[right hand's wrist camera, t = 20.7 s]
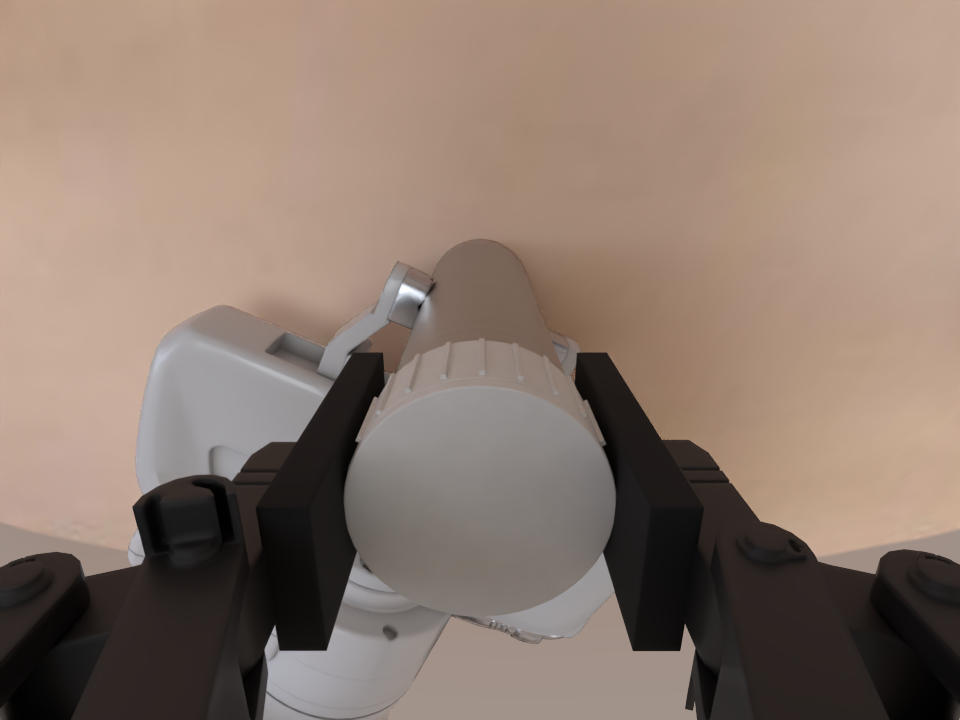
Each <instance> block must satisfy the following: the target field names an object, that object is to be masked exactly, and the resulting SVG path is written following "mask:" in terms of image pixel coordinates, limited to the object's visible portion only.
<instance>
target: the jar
mask: <svg viewBox="0 0 960 720" xmlns="http://www.w3.org/2000/svg"><path fill="white" fill-rule="evenodd" d="M432 277H434V280H433V282H432V285H431V287H430V290H429V292H428V294H427V297H426V299H425V300H424V302H423V303H422V305H421V308H420V310H419V313H418V316H417V318H416V321H415V324H414V326H413V329H412V332H411V334H410V337H409V339H408V342H407V345H406V347H405V350H404V353H403V355H402V358H401V361H400V363H399V366H398V368H397V371H396V373H397V372H399V371H400V370H401V369H402V368H403V367H404V366H405V365H407V364H408V363H410V362H411V361H412V360H414V357H415V355H417V354H420V355H423V354H424V353H426V352H428V351H431V350H433V349H436V348H439V347H441V346H444V345H445V344H446V343H447V342H451V344H453V343H457V342H464V341H473V340H479V338H484V339H485V341H496V342H503V343H508V344H513V343H517V344H518V346H519V347H522V348H524V349H527V350H529V351H531V352H534V353H536V354H538V355H539V356H541V357H543V356H544V355H545V356H546V357H548V359H549V362H550V363H552V364H553V365H554V366H556V367H557V368H558V369H560V370H561V372H562V373H563V374H564V371H563V368H562V366H561V363H560V361H559V358H558V355H557V353H556V350H555V347H554V345H553V342H552V340H551V337H550V334H549V332H548V329H547V326H546V324H545V321H544V319H543V316H542V313H541V311H540V308H539V305H538V303H537V300H536V298H535V295H534V292H533V290H532V287H531V284H530V282H529V279H528V277H527V274H526V271H525V269H524V266H523V265H522V263H521V261H520V260H519V258H518V257H517V256H516V255H515V254H514V253H513V252H512V251H511V250H510V249H508V248H507V247H505V246H503V245H502V244H499V243H497V242H494V241H490V240H483V239H478V240H469V241H466V242H463V243H460V244H458V245H456V246H455V247H453V248H451V249H450V250H449V251H448V252H447V253H446V254H445V255H444V256H443V257H442V258H441V260H440V261H439V263H438V264H437V266H436V268H435V271H434V274H433V276H432ZM564 375H565V374H564Z"/></svg>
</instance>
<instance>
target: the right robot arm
mask: <svg viewBox="0 0 960 720" xmlns="http://www.w3.org/2000/svg"><path fill="white" fill-rule="evenodd" d="M575 386H576V389H577V390H578V392H579V394H580V396H581V398H582V400H583V401H585V400H587V401H588V403H589V405H590V408H591V410H592V412H593V415H594V417H595V419H596V422H597V424H598V426H599V428H600V431H601V433H602V435H603V438H604V440H605V442H606V445H604V446H602V447H603V449H604V452H605V454H606V456H607V459H608V461H609V464H610V467H611V470H612V472H613V476H614V481H615V486H616V506H615V515H614V524H613V528H612V532H611V535H610V537H609V540H608V542H607V544H606V546H605V549H604V550H603V555H604V558H605V561H606V564H607V568H608V571H609V574H610V577H611V581H612V584H613V587H614V591H615V594H616V597H617V600H618V604H619V607H620V610H621V613H622V617H623V620H624V623H625V626H626V630H627V633H628V636H629V639H630V643H631V646H632V649H633V651H680V649H681V643H682V637H683V631H684V625H685V624H686V627H687V629H688V631H689V633H690V636H691V638H692V640H693V643H694V645H695V647H696V649H695V655H694V660H693V666H692V672H691V677H690V683H689V688H688V694H687V700H686V707H685V709H688V710H693V707H694V702H695V705H696V713H697V720H959V718H960V565H959V564H957V563H955V562H953V561H952V560H950V559H948V558H945V557H942V556H939V555H938V556H936V555H935V554H931V553H927V552H922V551H913V550H905V549H903V550H896V551H890V552H888V553H887V554H885V555H884V556H883V557H882V558H880V561H879V564H878V568H877V571H876V574H871V573H866V572H861V571H856V570H851V569H847V568H842V567H837V566H832V565H828V564H825V563H821V562H818V561H817V559H816V556H815V555H814V553H813V552H812V551H811V549H810V548H809V547H808V545H807V544H806V543H805V542H803V541H802V540H801V539H799V538H798V537H797V536H795V535H794V534H793V533H791V532H789V531H787V530H784V529H782V528H780V527H778V526H775V525H773V524H769V523H765V522H760V520H759V519H758V518H757V516H756V515H755V514H754V512H753V511H752V510H751V508H750V507H749V506H748V505H747V503H746V502H745V501H744V499H743V498H742V497H741V495H740V494H739V493H738V491H737V490H736V489H735V487H734V486H733V485H732V483H729V479H728V478H727V477H726V475H725V474H724V473H723V472H722V471H720V468H719V466H718V465H717V464H716V462H715V461H714V460H713V458H712V457H711V456H710V454H709V453H708V452H706V451H705V450H703V449H702V448H700V447H699V446H697V445H696V444H694V443H692V442H691V441H689V440H661V438H660V437H659V435H658V433H657V432H656V430H655V429H654V427H653V425H652V424H651V422H650V421H649V419H648V417H647V416H646V414H645V413H644V411H643V410H642V408H641V406H640V405H639V403H638V402H637V400H636V398H635V397H634V395H633V394H632V392H631V390H630V389H629V387H628V386H627V384H626V383H625V381H624V379H623V378H622V376H621V375H620V373H619V371H618V370H617V368H616V367H615V365H614V363H613V362H612V360H611V359H610V357H609V356H608V354H607V353H577V357H576V372H575ZM384 387H385V378H384V363H383V353H352V355H351V357H350V358H349V360H348V361H347V363H346V364H345V366H344V368H343V369H342V371H341V372H340V374H339V376H338V377H337V379H336V380H335V382H334V384H333V385H332V387H331V388H330V390H329V391H328V393H327V395H326V396H325V398H324V399H323V401H322V403H321V404H320V406H319V407H318V409H317V411H316V412H315V414H314V415H313V417H312V418H311V420H310V422H309V423H308V425H307V426H306V428H305V430H304V431H303V433H302V434H301V436H300V438H299V439H298V441H297V442H270V443H269V444H267V445H266V446H264V447H263V448H261V449H260V450H258V451H256V452H255V453H253V454H252V455H251V456H250V457H249V459H248V460H247V461H246V463H245V464H244V465H243V467H242V468H241V469H240V473H237V475H236V476H235V477H234V479H233V480H232V481H230V480H229V479H228V478H226V477H222V476H218V475H213V474H211V475H193V476H188V477H183V478H179V479H175V480H172V481H170V482H167V483H165V484H162V485H160V486H157V487H156V488H154V489H152V490H151V491H149V492H148V493H146V494H144V495H143V496H142V497H141V498H140V499H139V500H138V501H137V502H136V503H135V505H134V506H133V511H134V515H135V519H136V523H137V527H138V530H139V534H140V538H141V542H142V546H143V550H144V553H145V557H144V560H143V562H142V564H140V565H137V566H133V567H129V568H125V569H120V570H115V571H111V572H106V573H101V574H96V575H92V576H87V577H85V576H84V573H83V569H82V566H81V563H80V561H79V560H78V559H77V558H76V557H74V556H73V555H72V554H67V553H60V552H52V553H44V554H36V555H32V556H27V557H25V558H21V559H18V560H15V561H12V562H10V563H8V564H7V565H5V566H2V567H0V720H263V715H264V706H265V698H266V689H267V680H268V667H267V660H266V655H265V647H266V645H267V643H268V640H269V638H270V636H271V633H272V631H273V629H274V626H275V628H276V633H277V639H278V645H279V651H327V648H328V645H329V642H330V638H331V635H332V632H333V629H334V625H335V622H336V619H337V616H338V612H339V609H340V606H341V602H342V599H343V596H344V593H345V589H346V586H347V583H348V580H349V576H350V573H351V570H352V567H353V563H354V560H355V557H356V553H357V550H356V548H355V547H354V545H353V542H352V540H351V537H350V535H349V532H348V529H347V525H346V519H345V509H344V485H345V481H346V477H347V472H348V467H349V465H350V462H351V460H352V457H353V455H354V452H355V450H356V448H357V445H358V442H356V441H355V440H356V438H357V436H358V433H359V431H360V429H361V426H362V424H363V422H364V419H365V417H366V415H367V412H368V410H369V408H370V405H371V403H372V401H373V399H374V397H377V398H378V397H379V396H380V394H381V392H382V391H383V389H384Z"/></svg>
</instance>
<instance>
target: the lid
mask: <svg viewBox="0 0 960 720" xmlns="http://www.w3.org/2000/svg"><path fill="white" fill-rule="evenodd" d="M355 441H356V442H358V445H357V448H356V450H355V452H354V455H353V457H352V460H351V462H350V465H349V467H348V472H347V477H346V481H345V485H344V509H345V519H346V525H347V529H348V532H349V535H350V537H351V540H352V542H353V545H354V547H355V548H356V550H357V552H358V554H359V555H360V557H361V559H362V560H363V561H364V563H365V564H366V565H367V566H368V568H369V569H370V570H371V571H372V572H373V573H374V574H375V575H376V576H377V577H378V578H379V579H380V580H381V581H382V582H383V583H384V584H386V585H387V586H388V587H389V588H391V589H392V590H393V591H395V592H396V593H398V594H400V595H401V596H403V597H405V598H406V599H408V600H410V601H413V602H415V603H417V604H419V605H421V606H424V607H427V608H430V609H433V610H436V611H440V612H444V613H449V614H453V615H461V616H474V617H488V616H499V615H506V614H511V613H516V612H520V611H524V610H527V609H530V608H534V607H536V606H538V605H541V604H543V603H545V602H548V601H550V600H551V599H553V598H555V597H557V596H559V595H560V594H562V593H564V592H565V591H566V590H568V589H569V588H570V587H572V586H573V585H575V584H576V583H577V582H578V581H579V580H580V579H581V578H582V577H583V576H584V575H585V574H587V572H588V571H589V570H590V569H591V568H592V566H593V565H594V564H595V563H596V561H597V560H598V558H599V557H600V555H601V553H602V552H603V550H604V549H605V546H606V544H607V542H608V540H609V537H610V535H611V532H612V528H613V524H614V515H615V506H616V486H615V481H614V476H613V472H612V470H611V467H610V464H609V461H608V459H607V456H606V454H605V452H604V449H603V447H602V446H604V445H606V442H605V440H604V438H603V435H602V433H601V431H600V428H599V426H598V424H597V422H596V419H595V417H594V415H593V412H592V410H591V408H590V405H589V403H588V401H587V400H585V401H583V400H582V398H581V396H580V394H579V392H578V390H577V389H576V386H575V384H574V381H573V379H572V377H571V376H570V375H568V376H567V377H566V376H565V375H564V374H563V373H562V372H561V370H560V369H558V368H557V367H556V366H554V365H553V364H552V363H550V362H549V359H548V357H546V356H545V355H544V356H543V357H541V356H539V355H538V354H536V353H534V352H531V351H529V350H527V349H524V348H522V347H519V346H518V344H517V343H513V344H508V343H503V342H496V341H485V339H484V338H479V340H473V341H464V342H457V343H453V344H451V342H447V343H446V344H445V345H444V346H441V347H439V348H436V349H433V350H431V351H428V352H426V353H424V354H423V355H420V354H417V355H415V357H414V360H412V361H411V362H410V363H408V364H407V365H405V366H404V367H403V368H402V369H401V370H400V371H399V372H397V373H396V374H395V373H394V372H393V373H392V374H391V375H390V377H389V379H388V382H387V384H386V386H385V387H384V389H383V391H382V392H381V394H380V396H379V397H378V398H377V397H374V399H373V401H372V403H371V405H370V408H369V410H368V412H367V415H366V417H365V419H364V422H363V424H362V426H361V429H360V431H359V433H358V436H357V438H356V440H355Z"/></svg>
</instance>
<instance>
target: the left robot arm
mask: <svg viewBox="0 0 960 720" xmlns="http://www.w3.org/2000/svg"><path fill="white" fill-rule="evenodd" d="M433 280H434V277H432V276H430V275H428V274H426V273H424V272H421V271H419V270H417V269H415V268H413V267H410V265H407V264H405V263H402V262H400V261H398V262H397V263H396V265H395V266H394V268H393V270H392V272H391V274H390V276H389V278H388V280H387V283H386V285H385V288H384V290H383V292H382V295H381V297H380V300H378V301H377V302H375V303H374V304H373V305H371V306H370V307H368V308H367V309H366V310H364V311H363V312H361V313H360V314H359V315H357V316H356V317H354V318H353V319H352V320H350V321H349V322H347V323H346V324H345V325H343V326H342V327H341V328H340V329H339V330H338V331H337V333H336V334H335V335H334V337H333V338H332V339H331V340H330V342H329V343H328V344H327V346H324V345H322V344H319V343H317V342H315V341H312V340H310V339H307V338H305V337H303V336H300V335H298V334H296V333H293V332H291V331H288V330H286V329H284V328H281V327H279V326H277V325H274V324H272V323H269V322H267V321H265V320H262V319H260V318H257V317H255V316H253V315H250V314H248V313H246V312H243V311H241V310H239V309H236V308H234V307H231V306H227V305H219V306H216V307H213V308H211V309H208V310H206V311H204V312H201V313H199V314H197V315H195V316H193V317H191V318H189V319H187V320H185V321H183V322H182V323H180V324H179V325H177V326H176V327H174V328H173V329H172V330H171V331H169V332H168V333H167V334H166V335H165V336H164V337H163V339H162V340H161V341H160V343H159V344H158V346H157V348H156V351H155V354H154V357H153V360H152V363H151V366H150V370H149V374H148V378H147V383H146V387H145V392H144V397H143V402H142V408H141V414H140V421H139V427H138V436H137V445H136V457H135V464H136V475H137V480H138V484H139V487H140V489H141V492H142V494H143V495H144V494H146V493H148V492H149V491H151V490H152V489H154V488H156V487H157V486H160V485H162V484H165V483H167V482H170V481H172V480H175V479H179V478H183V477H188V476H193V475H211V474H213V475H218V476H222V477H226V478H228V479H229V480H230V481H232V480H233V479H234V477H235V476H236V475H237V473H240V469H241V468H242V467H243V465H244V464H245V463H246V461H247V460H248V459H249V457H250V456H251V455H252V454H253V453H255V452H256V451H258V450H260V449H261V448H263V447H264V446H266V445H267V444H269V443H270V442H297V441H298V439H299V438H300V436H301V434H302V433H303V431H304V430H305V428H306V426H307V425H308V423H309V422H310V420H311V418H312V417H313V415H314V414H315V412H316V411H317V409H318V407H319V406H320V404H321V403H322V401H323V399H324V398H325V396H326V395H327V393H328V391H329V390H330V388H331V387H332V385H333V384H334V382H335V380H336V379H337V377H338V376H339V374H340V372H341V371H342V369H343V368H344V366H345V364H346V363H347V361H348V360H349V358H350V357H351V355H352V353H369V351H370V349H371V346H372V342H371V340H369V339H368V338H369V337H370V336H372V335H373V334H374V333H376V332H377V331H379V330H380V329H381V328H383V327H384V326H385V325H387V324H388V323H389V322H390V321H392V322H394V323H397V324H399V325H402V326H404V327H407V328H409V329H412V328H413V326H414V324H415V321H416V318H417V316H418V313H419V310H420V308H421V305H422V303H423V302H424V300H425V299H426V297H427V294H428V292H429V290H430V287H431V285H432V282H433ZM547 329H548V328H547ZM548 332H549V334H550V337H551V340H552V342H553V345H554V347H555V350H556V353H557V355H558V358H559V361H560V363H561V366H562V368H563V371H564V374H565V376H566V377H567V376H568V375H571V374H572V372H573V370H574V368H575V366H576V357H577V353H581V349H580V347H579V346H578V344H577V342H576V341H575V340H573V339H570V338H568V337H566V336H564V335H561V334H559V333H557V332H555V331H552V330H550V329H548ZM390 375H391V373H389V372H386V371H384V378H385V386H386V384H387V382H388V379H389V377H390ZM144 557H145V553H144V550H143V546H142V542H141V538H140V534H139V530H138V528H137V530H136V532H135V533H134V535H133V537H132V539H131V541H130V544H129V548H128V560H129V562H130V564H131V565H132V567H133V566H137V565H140V564H142V562H143V560H144ZM614 592H615V591H614V587H613V584H612V581H611V577H610V574H609V571H608V568H607V564H606V561H605V558H604V555H603V552H602V553H601V555H600V557H599V558H598V560H597V561H596V563H595V564H594V565H593V566H592V568H591V569H590V570H589V571H588V572H587V574H585V575H584V576H583V577H582V578H581V579H580V580H579V581H578V582H577V583H576V584H575V585H573V586H572V587H570V588H569V589H568V590H566V591H565V592H564V593H562V594H560V595H559V596H557V597H555V598H553V599H551V600H550V601H548V602H545V603H543V604H541V605H538V606H536V607H534V608H530V609H527V610H524V611H520V612H516V613H511V614H506V615H499V616H488V617H474V616H461V615H453V614H449V613H444V612H440V611H436V610H433V609H430V608H427V607H424V606H421V605H419V604H417V603H415V602H413V601H410V600H408V599H406V598H405V597H403V596H401V595H400V594H398V593H396V592H395V591H393V590H392V589H391V588H389V587H388V586H387V585H386V584H384V583H383V582H382V581H381V580H380V579H379V578H378V577H377V576H376V575H375V574H374V573H373V572H372V571H371V570H370V569H369V568H368V566H367V565H366V564H365V563H364V561H363V560H362V559H361V557H360V555H359V554H358V552H357V553H356V557H355V560H354V563H353V567H352V570H351V573H350V576H349V580H348V583H347V586H346V589H345V593H344V596H343V599H342V602H341V606H340V609H339V612H338V616H337V619H336V622H335V625H334V629H333V632H332V635H331V638H330V642H329V645H328V648H327V651H279V645H278V639H277V633H276V628H275V626H274V629H273V631H272V633H271V636H270V638H269V640H268V643H267V645H266V647H265V655H266V660H267V667H268V680H267V689H266V698H265V706H264V715H263V720H387V719H388V715H389V710H390V709H391V708H392V707H394V706H395V705H396V704H397V703H398V702H399V701H400V699H401V698H402V697H403V696H404V694H405V693H406V692H407V691H408V689H409V688H410V686H411V684H412V683H413V681H414V679H415V678H416V676H417V674H418V672H419V671H420V669H421V667H422V665H423V663H424V662H425V660H426V658H427V657H428V655H429V653H430V651H431V650H432V648H433V646H434V645H435V643H436V641H437V640H438V638H439V636H440V634H441V633H442V631H443V629H444V627H445V626H446V624H447V622H448V620H449V619H450V617H451V616H452V617H455V618H458V619H461V620H464V621H467V622H469V623H472V624H475V625H478V626H481V627H485V628H489V629H494V630H499V631H502V632H504V633H507V634H510V635H511V636H512V637H513V638H515V639H517V640H520V641H523V642H526V643H531V644H538V643H540V642H541V640H542V639H559V638H563V637H565V638H571V637H573V636H575V635H576V634H578V633H579V632H580V631H581V630H582V629H583V627H584V626H585V624H586V623H587V621H588V620H589V618H590V617H591V616H592V614H593V613H594V612H595V611H597V610H598V609H599V608H600V607H601V606H602V605H603V604H604V603H605V602H606V601H607V600H608V599H609V598H610V597H611V596H612V594H613V593H614Z"/></svg>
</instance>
